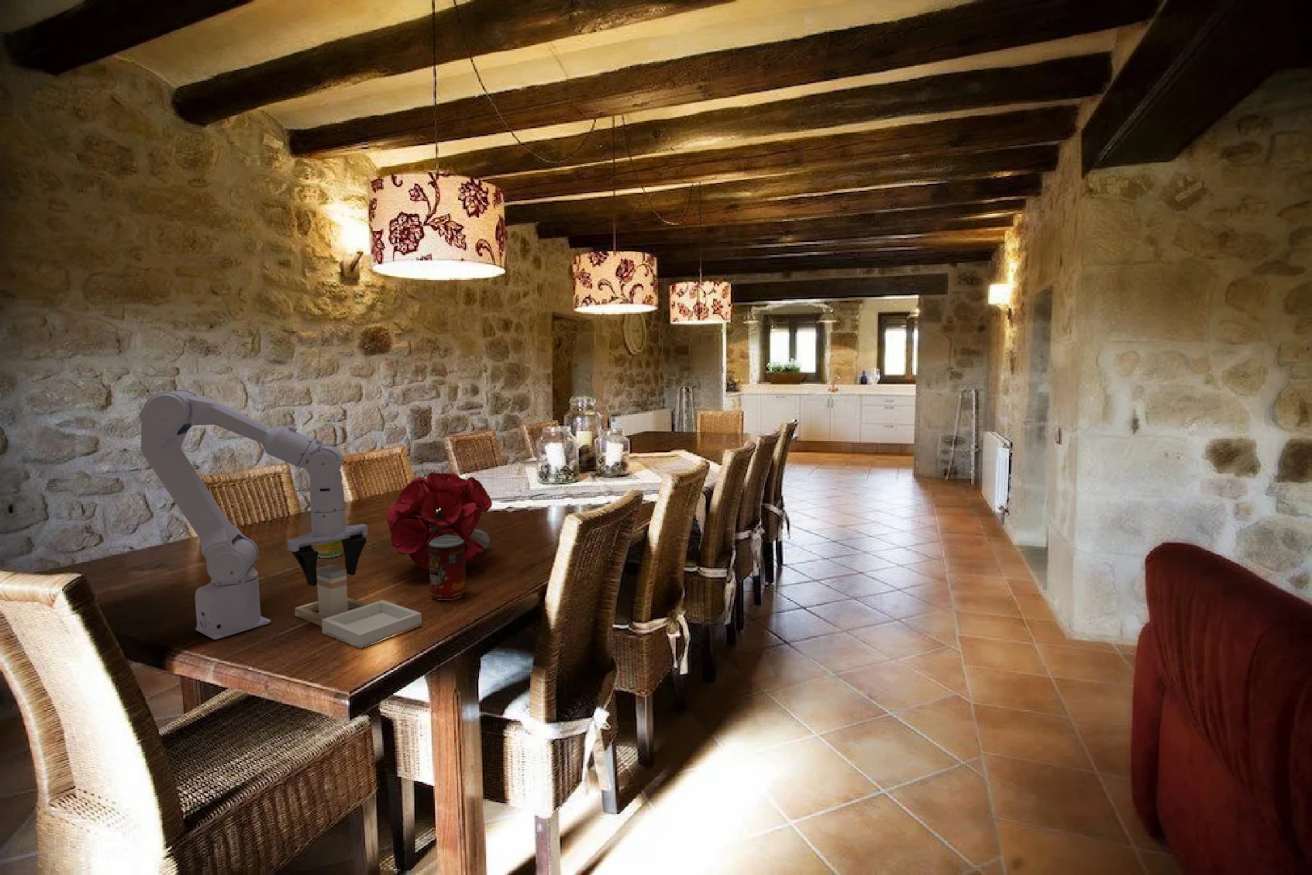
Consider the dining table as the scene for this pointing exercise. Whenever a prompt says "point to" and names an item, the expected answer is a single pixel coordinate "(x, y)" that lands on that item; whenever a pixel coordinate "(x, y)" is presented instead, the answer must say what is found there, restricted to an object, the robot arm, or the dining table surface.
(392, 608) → the tray
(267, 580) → the dining table surface
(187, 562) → the dining table surface
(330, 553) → the supplement bottle
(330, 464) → the robot arm
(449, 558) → the soda can
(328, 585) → the block
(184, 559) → the dining table surface
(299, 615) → the frame
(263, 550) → the dining table surface
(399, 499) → the bouquet
